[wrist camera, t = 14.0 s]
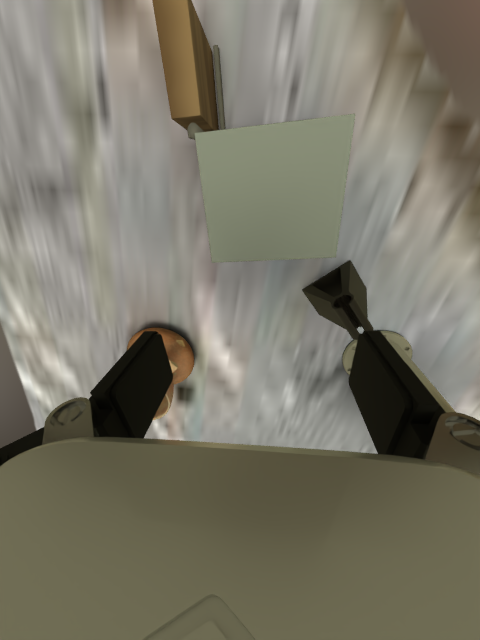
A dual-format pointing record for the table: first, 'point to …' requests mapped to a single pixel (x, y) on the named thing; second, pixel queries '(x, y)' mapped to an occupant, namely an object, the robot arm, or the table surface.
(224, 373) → the table surface
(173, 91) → the tan rectangular block
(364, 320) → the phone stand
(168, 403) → the ceramic jug
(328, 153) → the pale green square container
